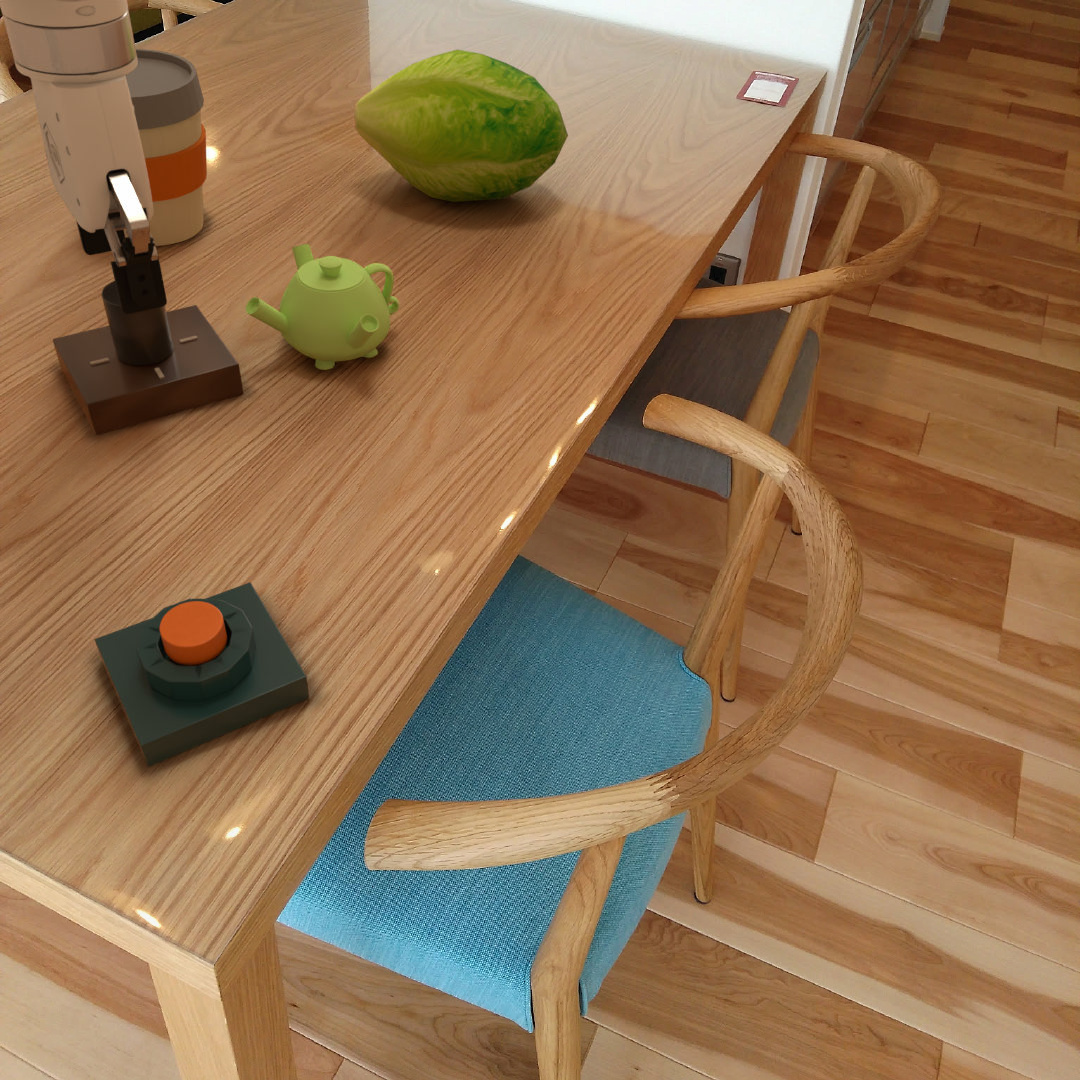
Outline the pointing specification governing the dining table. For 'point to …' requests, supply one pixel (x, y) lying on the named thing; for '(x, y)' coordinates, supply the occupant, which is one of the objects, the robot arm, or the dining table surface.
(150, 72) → the reusable coffee cup
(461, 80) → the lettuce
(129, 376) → the dial panel
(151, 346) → the dial
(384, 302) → the teapot
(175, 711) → the button housing
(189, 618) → the orange push button
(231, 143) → the dining table surface
